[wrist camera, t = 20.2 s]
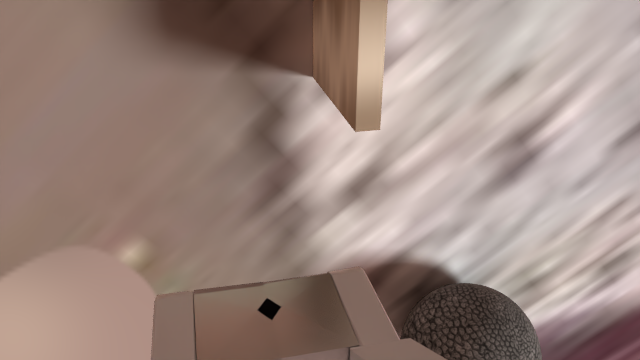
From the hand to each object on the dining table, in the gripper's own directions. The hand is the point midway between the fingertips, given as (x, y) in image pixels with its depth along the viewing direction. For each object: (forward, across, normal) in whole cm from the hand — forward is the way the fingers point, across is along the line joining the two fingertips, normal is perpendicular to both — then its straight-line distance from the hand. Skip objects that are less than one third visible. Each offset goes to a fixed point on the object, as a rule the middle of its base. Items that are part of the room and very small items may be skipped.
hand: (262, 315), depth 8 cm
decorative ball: (+25, -17, +24) cm, 39 cm away
